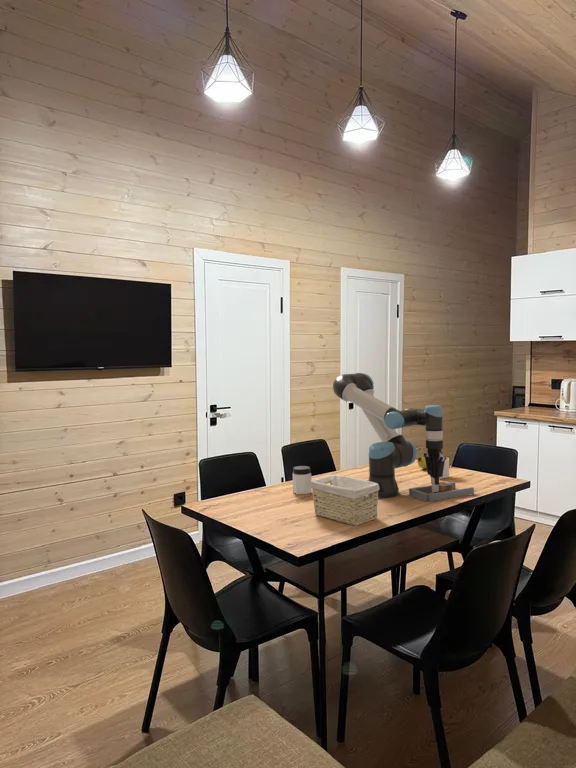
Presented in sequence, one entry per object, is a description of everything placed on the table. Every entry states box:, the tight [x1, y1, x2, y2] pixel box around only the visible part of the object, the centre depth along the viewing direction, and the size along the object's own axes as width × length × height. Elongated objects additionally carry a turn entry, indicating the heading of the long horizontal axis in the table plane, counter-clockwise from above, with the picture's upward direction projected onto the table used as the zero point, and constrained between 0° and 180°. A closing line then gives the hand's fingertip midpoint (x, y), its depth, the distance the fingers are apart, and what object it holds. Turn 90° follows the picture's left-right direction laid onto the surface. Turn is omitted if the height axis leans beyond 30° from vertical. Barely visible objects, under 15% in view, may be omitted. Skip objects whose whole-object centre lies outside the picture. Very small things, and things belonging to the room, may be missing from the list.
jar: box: [292, 465, 313, 495], centre depth 269 cm, size 9×8×12 cm
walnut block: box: [433, 481, 454, 493], centre depth 259 cm, size 6×6×5 cm
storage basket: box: [311, 474, 379, 527], centre depth 228 cm, size 24×16×15 cm
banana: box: [417, 456, 427, 470], centre depth 317 cm, size 23×6×20 cm, turn 139°
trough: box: [408, 481, 475, 503], centre depth 259 cm, size 26×13×3 cm, turn 115°
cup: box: [429, 456, 450, 480], centre depth 293 cm, size 10×10×10 cm
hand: (435, 491), depth 257 cm, fingers closed
